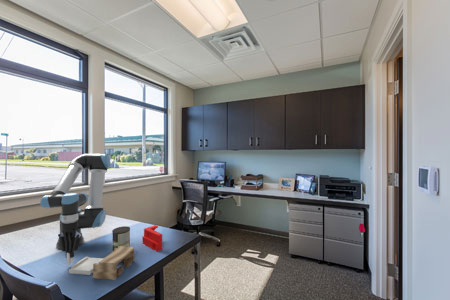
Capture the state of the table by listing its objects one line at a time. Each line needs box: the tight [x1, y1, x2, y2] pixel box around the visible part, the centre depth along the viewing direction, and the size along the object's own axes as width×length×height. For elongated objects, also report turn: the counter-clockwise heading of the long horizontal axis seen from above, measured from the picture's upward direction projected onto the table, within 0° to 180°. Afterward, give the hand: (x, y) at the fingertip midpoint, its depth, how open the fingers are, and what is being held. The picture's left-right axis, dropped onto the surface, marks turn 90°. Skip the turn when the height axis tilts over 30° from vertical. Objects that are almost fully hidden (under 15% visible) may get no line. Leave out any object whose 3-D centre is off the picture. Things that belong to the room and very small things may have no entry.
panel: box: [68, 256, 105, 276], centre depth 110 cm, size 12×12×4 cm
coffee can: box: [111, 225, 131, 253], centre depth 128 cm, size 10×10×14 cm
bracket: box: [142, 224, 163, 252], centre depth 137 cm, size 18×10×10 cm
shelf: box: [92, 246, 135, 281], centre depth 108 cm, size 12×17×8 cm
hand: (69, 263), depth 111 cm, fingers closed
